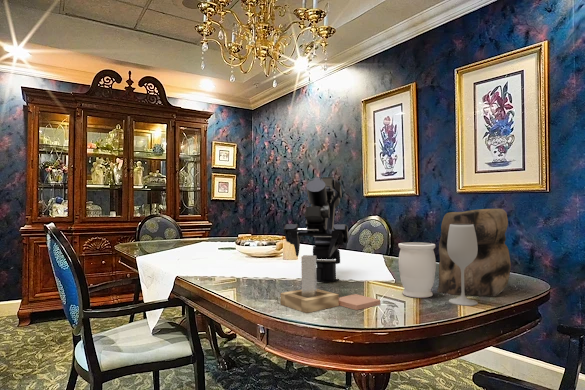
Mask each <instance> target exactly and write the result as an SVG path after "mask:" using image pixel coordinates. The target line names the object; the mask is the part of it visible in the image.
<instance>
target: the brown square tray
mask: <svg viewBox="0 0 585 390" xmlns="http://www.w3.org/2000/svg"><path fill="white" fill-rule="evenodd" d="M339 295H340V294H339V293H334V292H331V291H327V290H323V289H319V288H317V296H316V297H311V298H305V297H302V288H301V289H297V290H290V291H283V292H280V305H282V306H284V307H287V308H290V309H293V310H297V311H299V312H302V313H305V314H308V313H313V312H317V311H318V312H319V311H322V310H325V309H326V308H327V309H330V308H335V307H339V306H340V305H339V297H340V296H339Z"/></svg>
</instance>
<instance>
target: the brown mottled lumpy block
mask: <svg viewBox="0 0 585 390" xmlns="http://www.w3.org/2000/svg"><path fill="white" fill-rule="evenodd" d="M450 224H473V225H474V228H475V233H476V238H477V246H478V252H477V256H476V258H475V259H474V261H473V262H472V263H470V264H469V265H468V266H467V267H466V268H465V270H464V293H465V296H475V297H485V296H486V297H496V296H498V295H499V294H500V293H501V292H503V291H504V289H506V287H507V285H508V283H509V280H510V274H511V267H512V264H511V258H510V257H511V256H510V250H509V247H508V246H507V244H506V242H507V238H506V232H507V229H508V225H509V220H508V214H507V212H506V211H505V209H503V208H482V209H471V210H470V209H469V210H466V211H451V212H447V213H445V214H444V216H443V218H442V221H441V226H440V230H441V232H440V234H441V236H440V238H439V242H438V244H439V245H438V254H439V264H438V287H437V290H436V292H437V293H441V294H446V295H455V296H461V292H462V290H461V269H460V267H459V266H458V265H456V264H455V263H454V262H453V261H452V260H451V258H450V257H449V255H448V252H447V240H448V232H449V227H450Z"/></svg>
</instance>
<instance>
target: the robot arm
mask: <svg viewBox="0 0 585 390" xmlns="http://www.w3.org/2000/svg"><path fill="white" fill-rule="evenodd" d="M342 193H343V191H342V186H341V184H340V183H339V182H337V181H336V178H335V177H334V176H324V177H313V179H312V180H310V181H309V182H308V183H306V194H307V195H306V196H307V198H308V203H309V204H310V206H306V207H305V212H304V213H305V214H304V217H305V219H306V220H305V226H306V228H305V227H304V228H300V227H299V224H297V223H296V224H295V223H289V224H288V223H287V224H284V227H283V233H284V237H285V241H286V242H287V243H289V244H290V245H293V247H294V251H295V256H296V257H297V258H298V257H299V254H300V245H301V242H300V239H301V237H303V236H304V237H309V238H315V242H314V245H313V246H312V255H316V276H317V282H321V283H332V282H337V281H338V282H339V281H340V278H337V265H338V264H341V253H340V252H341V251H340V249H339V247H340V246H343V245H344V244H347V243H349V229H348V228H349V227H348V225H346V224H345V223H344V224H342V223H341V224H338V223H337V224H336V223H335V213H336V211H335V210H336V208H337V207H338V206H339V205H340V203H341V202H340V200H341V199H342V196H343V195H342Z"/></svg>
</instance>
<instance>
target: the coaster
mask: <svg viewBox="0 0 585 390" xmlns="http://www.w3.org/2000/svg"><path fill="white" fill-rule="evenodd" d="M380 305H381V299H377V298H374V297H369V296H366V295H361V294H358V293H354V294H348V295H343V296H339V306H341V307H343V308H348V309H351V310H355V311H359V310H363V309H369V308H372V307H376V306H380Z"/></svg>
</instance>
